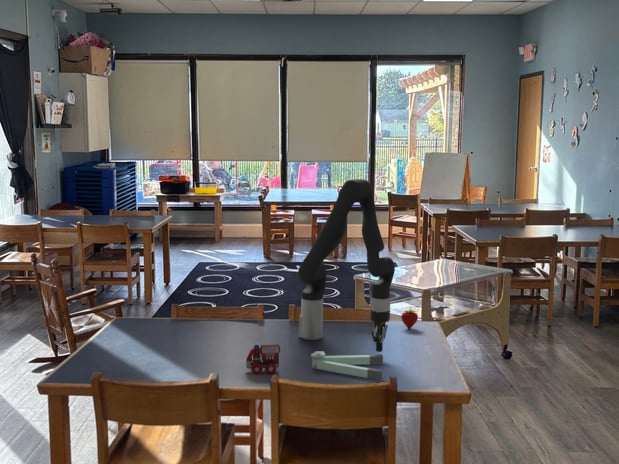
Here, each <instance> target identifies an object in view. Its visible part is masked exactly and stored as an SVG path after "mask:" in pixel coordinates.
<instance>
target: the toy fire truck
mask: <svg viewBox="0 0 619 464" xmlns="http://www.w3.org/2000/svg"><path fill="white" fill-rule="evenodd" d="M280 352H281V346H280V344H261V345H258V344H254V346H253V348H252V349H250V351H249V353H248V355H247V357H246V363H245V364H246V365H245V366H246V368H247V369H248V370H250V369H251V372H252V374H254V375H260V374H261V373H263V372H262V371H263V369H264V370H265V373H267V374H268V375H273V374H275V373H276V372H277V369H278V368H279V366H280Z"/></svg>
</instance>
